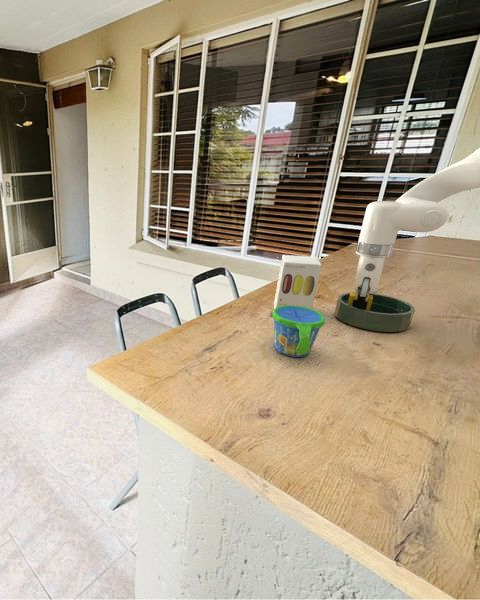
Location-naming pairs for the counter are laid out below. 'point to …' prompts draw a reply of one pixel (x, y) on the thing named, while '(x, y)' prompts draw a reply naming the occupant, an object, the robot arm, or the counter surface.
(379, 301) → the basin
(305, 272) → the supplement box
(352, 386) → the counter surface
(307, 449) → the counter surface
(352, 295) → the sponge
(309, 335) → the snack cup
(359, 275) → the robot arm
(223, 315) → the counter surface
